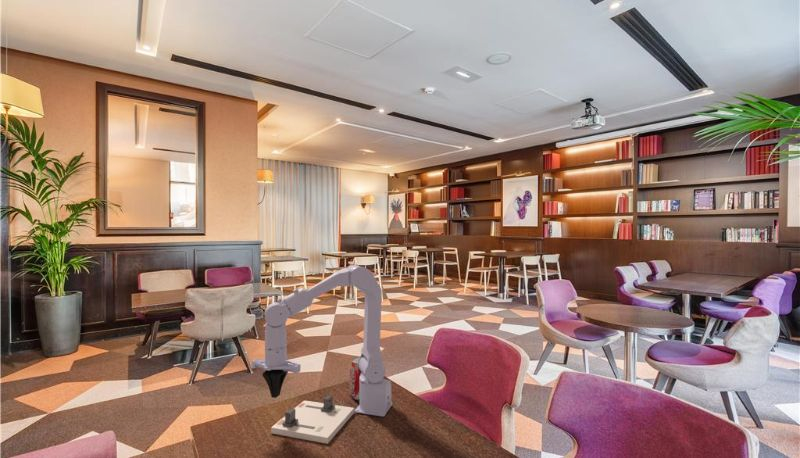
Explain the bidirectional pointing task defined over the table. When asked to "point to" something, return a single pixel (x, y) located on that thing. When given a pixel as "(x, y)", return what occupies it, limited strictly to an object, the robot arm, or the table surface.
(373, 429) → the table surface
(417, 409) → the table surface
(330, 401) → the block
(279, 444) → the table surface
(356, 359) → the soda can
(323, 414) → the breaker panel
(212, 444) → the table surface
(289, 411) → the breaker
